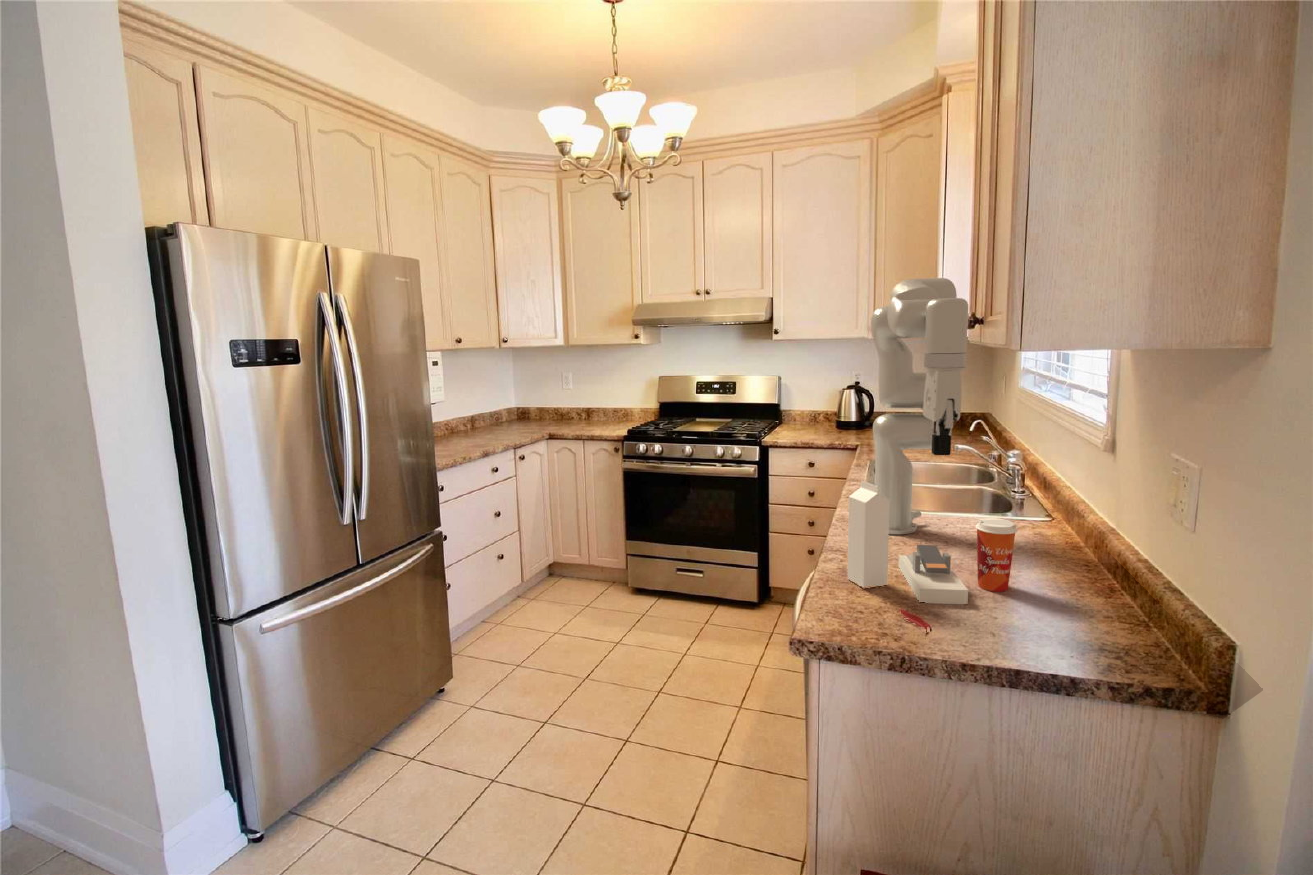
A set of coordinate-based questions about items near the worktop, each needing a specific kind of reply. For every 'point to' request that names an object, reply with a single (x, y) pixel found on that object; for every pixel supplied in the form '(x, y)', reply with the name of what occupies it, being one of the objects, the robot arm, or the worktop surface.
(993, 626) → the worktop surface
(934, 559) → the breaker paddle
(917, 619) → the cayenne pepper
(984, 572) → the paper cup
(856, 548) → the milk
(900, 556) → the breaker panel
